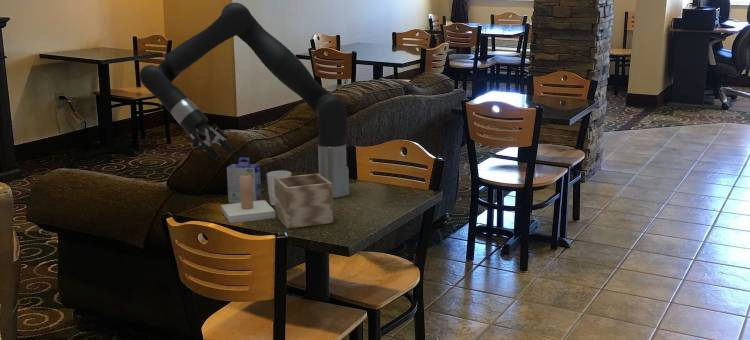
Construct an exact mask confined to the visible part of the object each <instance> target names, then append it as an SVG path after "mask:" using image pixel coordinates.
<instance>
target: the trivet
mask: <svg viewBox="0 0 750 340" xmlns="http://www.w3.org/2000/svg"><path fill="white" fill-rule="evenodd" d="M220 210H221V211H220V212H221V213H222V215H223V214H224V212H223V211H222V209H221V208H220ZM223 216H224V217H225V219H226V218H227V216H226V215H225V214H224V215H223ZM227 219H228V218H227ZM227 219H226V220H227ZM269 219H270V220H271V219H272V220H273V219H277V217H276V214H275V215H269V216H261V217H252V218H244V219H236V220H229V219H228V220H227V222H228V223H229V222H230V223H229V224H236V223H237V222H238V223H244V222H254V221H261V220H263V221H264V220H269ZM235 222H236V223H235Z"/></svg>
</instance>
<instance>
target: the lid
mask: <svg viewBox="0 0 750 340" xmlns="http://www.w3.org/2000/svg"><path fill="white" fill-rule="evenodd" d="M240 190H241V203H226V204H220V210H221V209H222V211H223V212H224V214H225V215H226V216H227V218H228V219H229V220H236V219H244V218H252V217H261V216H269V215H276V209H274V208H273V207H272V205H271V204H270V203H268V202H267V200H266V199H262V200H260V201H253V192H252V176H251V175H242V176H240Z"/></svg>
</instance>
